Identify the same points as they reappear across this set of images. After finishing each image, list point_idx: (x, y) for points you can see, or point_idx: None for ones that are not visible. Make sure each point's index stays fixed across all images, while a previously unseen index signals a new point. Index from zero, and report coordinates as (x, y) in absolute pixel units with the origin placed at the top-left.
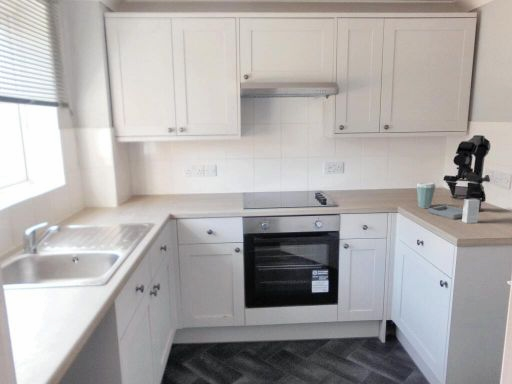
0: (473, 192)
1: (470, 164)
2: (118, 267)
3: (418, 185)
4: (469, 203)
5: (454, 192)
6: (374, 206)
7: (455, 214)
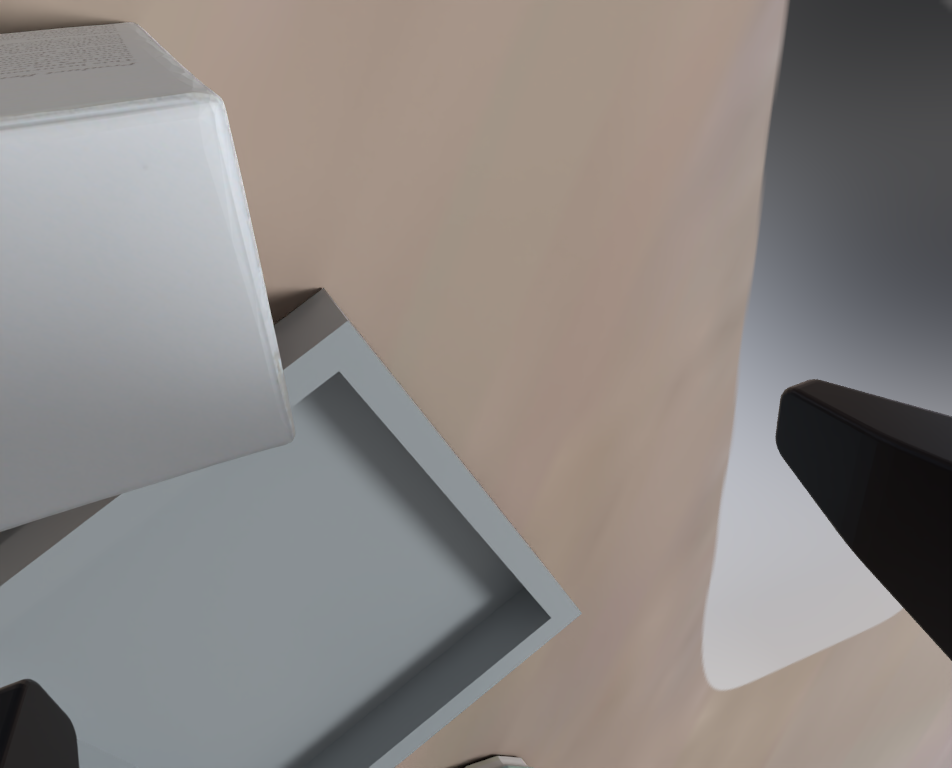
0: None
1: None
2: None
3: None
4: (138, 75)
5: (900, 441)
6: (889, 630)
7: (300, 362)
